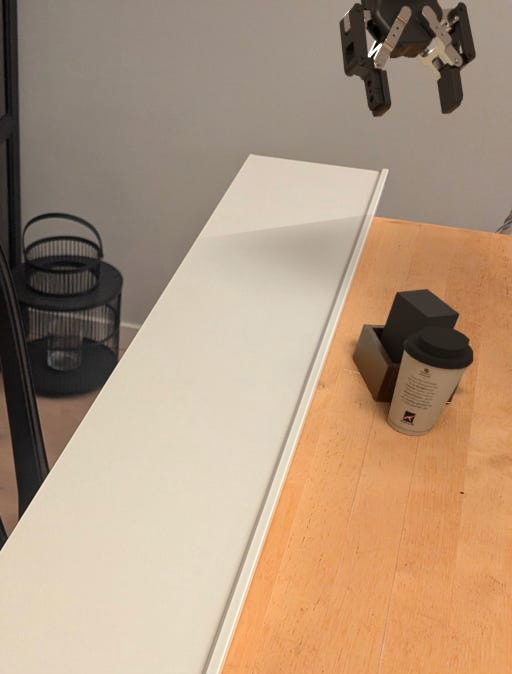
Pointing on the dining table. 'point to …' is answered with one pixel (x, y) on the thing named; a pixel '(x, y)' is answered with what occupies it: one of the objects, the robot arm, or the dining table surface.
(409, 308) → the black rectangular block
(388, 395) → the open box
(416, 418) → the coffee cup
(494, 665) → the dining table surface
